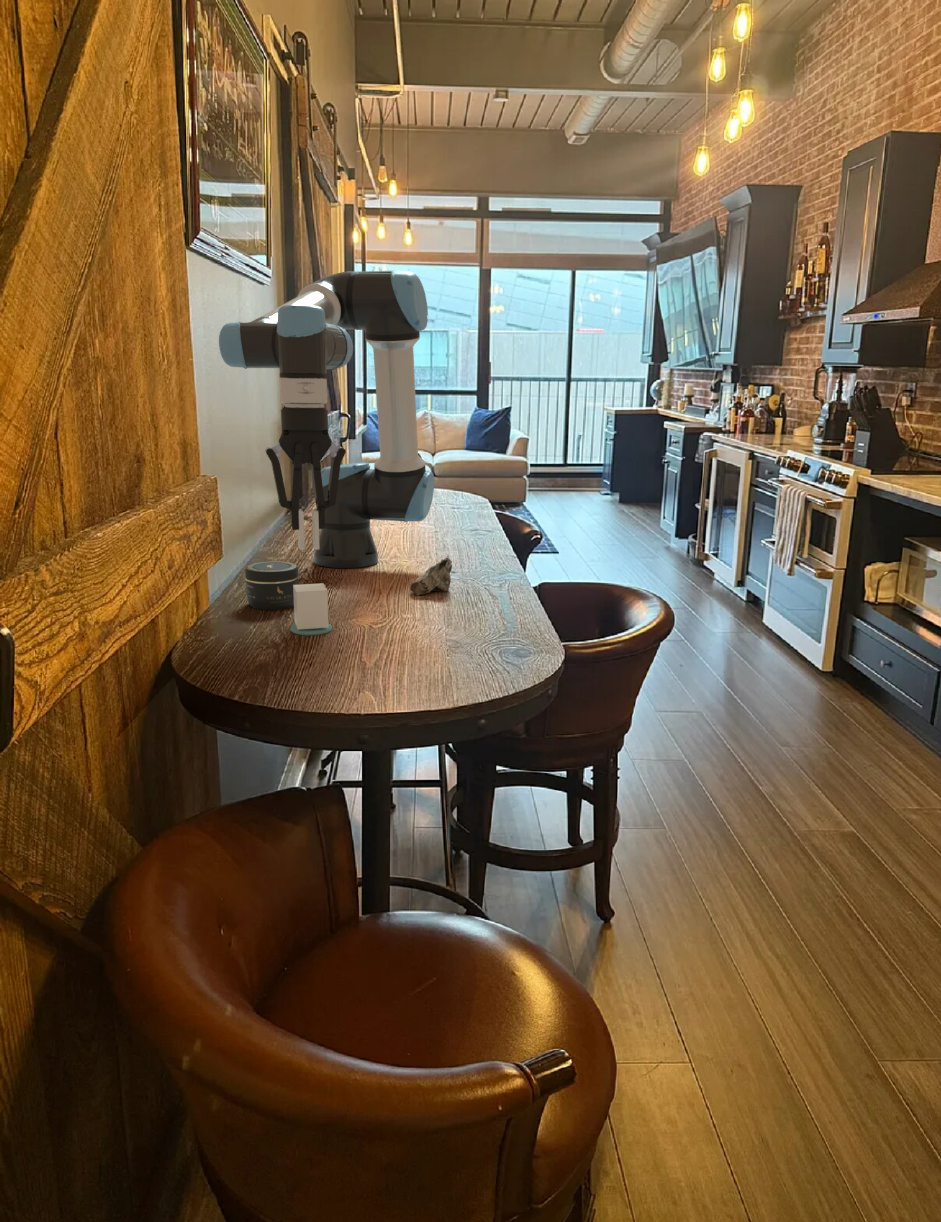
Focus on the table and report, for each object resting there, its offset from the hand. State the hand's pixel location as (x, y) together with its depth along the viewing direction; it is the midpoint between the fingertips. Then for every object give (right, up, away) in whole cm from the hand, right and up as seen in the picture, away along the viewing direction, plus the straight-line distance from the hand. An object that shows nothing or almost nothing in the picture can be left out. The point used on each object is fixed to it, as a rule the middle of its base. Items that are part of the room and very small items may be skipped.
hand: (308, 548), depth 145 cm
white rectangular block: (0, -13, +3) cm, 13 cm away
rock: (+19, -7, +32) cm, 38 cm away
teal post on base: (0, -14, +4) cm, 14 cm away
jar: (-11, -10, +20) cm, 25 cm away
